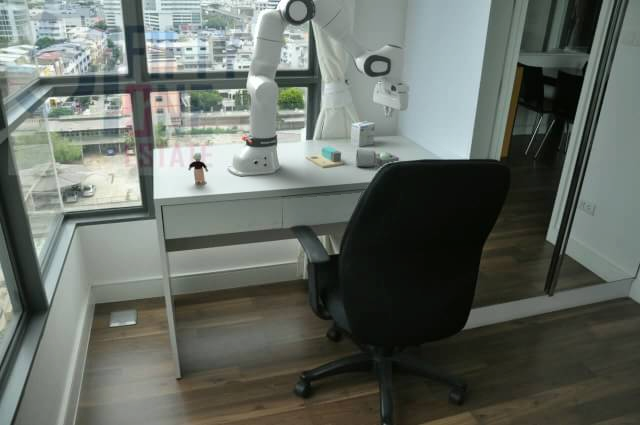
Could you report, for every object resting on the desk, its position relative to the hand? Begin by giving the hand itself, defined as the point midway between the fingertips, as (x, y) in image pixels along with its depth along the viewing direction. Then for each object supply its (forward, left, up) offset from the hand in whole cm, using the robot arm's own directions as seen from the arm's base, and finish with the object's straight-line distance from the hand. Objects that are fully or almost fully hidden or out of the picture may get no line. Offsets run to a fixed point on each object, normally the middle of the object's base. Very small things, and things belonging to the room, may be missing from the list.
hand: (388, 116), depth 221 cm
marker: (-21, +13, -20) cm, 32 cm away
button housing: (0, 0, -21) cm, 21 cm away
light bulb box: (+8, +29, -21) cm, 37 cm away
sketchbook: (-24, +13, -21) cm, 35 cm away
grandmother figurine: (-83, +11, -21) cm, 86 cm away
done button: (0, 0, -21) cm, 21 cm away
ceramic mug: (-11, +1, -21) cm, 24 cm away
